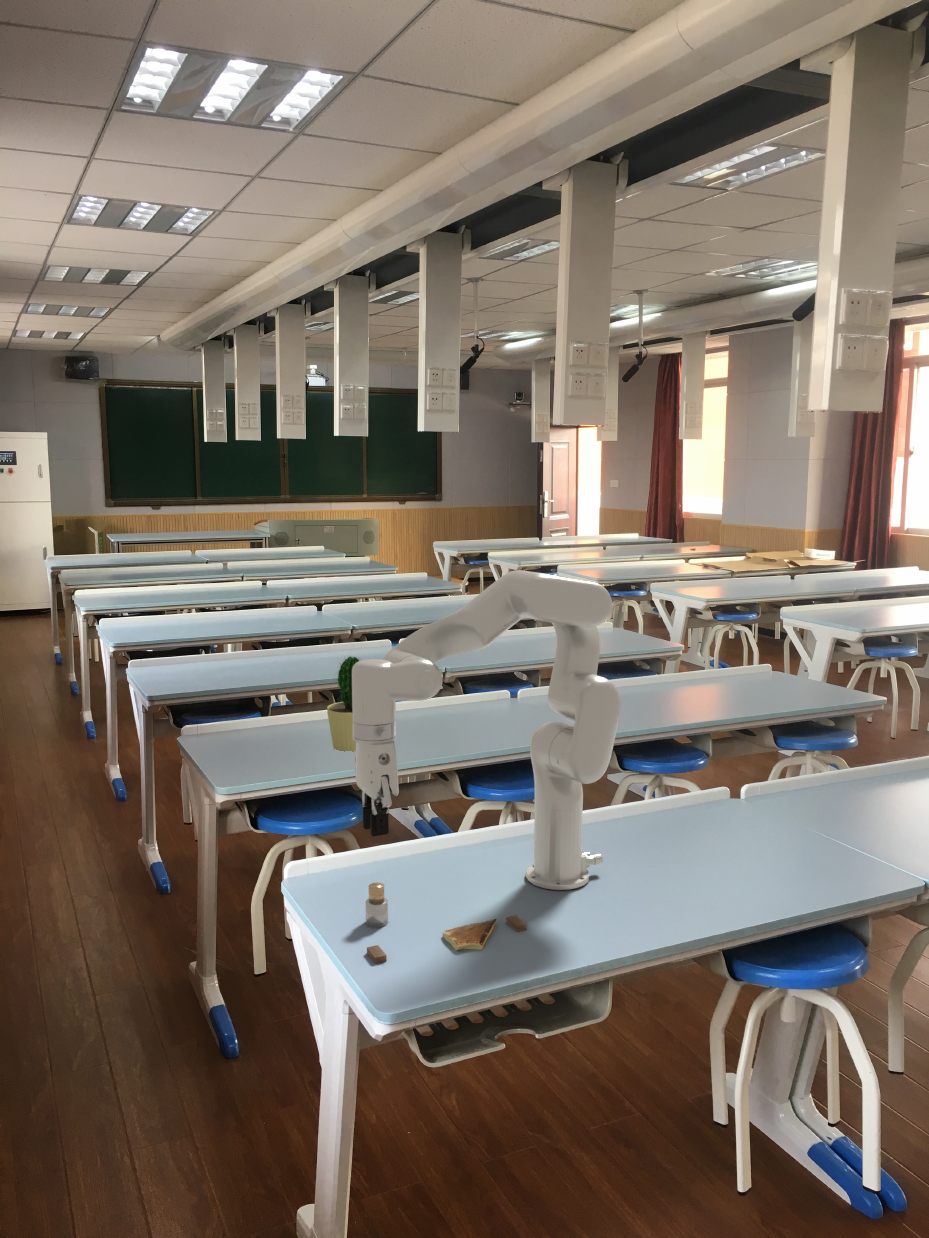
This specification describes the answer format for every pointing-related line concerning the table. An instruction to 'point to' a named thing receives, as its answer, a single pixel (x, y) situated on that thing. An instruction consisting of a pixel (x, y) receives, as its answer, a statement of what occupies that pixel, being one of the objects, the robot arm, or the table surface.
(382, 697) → the robot arm
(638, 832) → the table surface
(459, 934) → the shard
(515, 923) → the small brown blocks
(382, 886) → the gold capped bottle
